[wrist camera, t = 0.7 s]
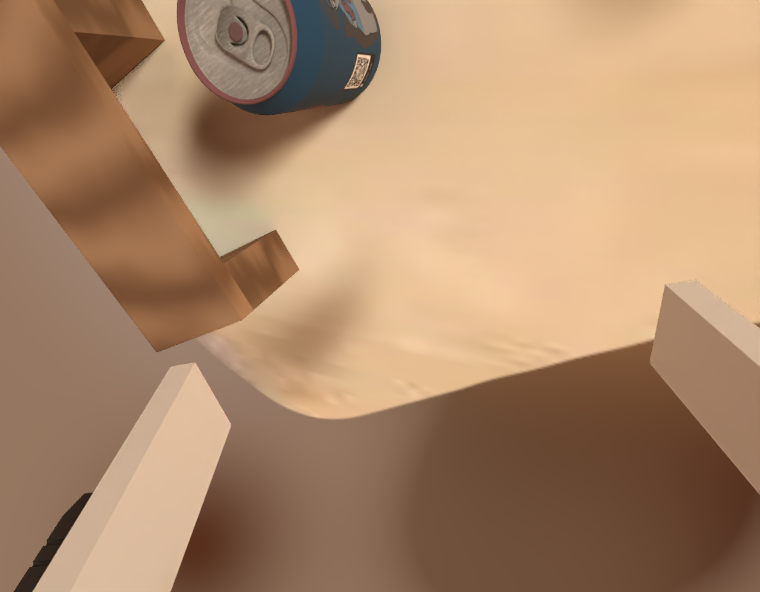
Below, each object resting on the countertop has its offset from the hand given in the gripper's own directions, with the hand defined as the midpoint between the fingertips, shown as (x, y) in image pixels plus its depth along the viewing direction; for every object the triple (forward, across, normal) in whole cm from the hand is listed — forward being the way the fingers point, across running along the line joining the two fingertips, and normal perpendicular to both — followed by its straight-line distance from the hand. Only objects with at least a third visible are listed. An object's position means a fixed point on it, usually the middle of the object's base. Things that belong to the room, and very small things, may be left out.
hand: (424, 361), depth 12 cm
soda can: (+24, -2, +8) cm, 25 cm away
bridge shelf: (+27, -18, +2) cm, 33 cm away
